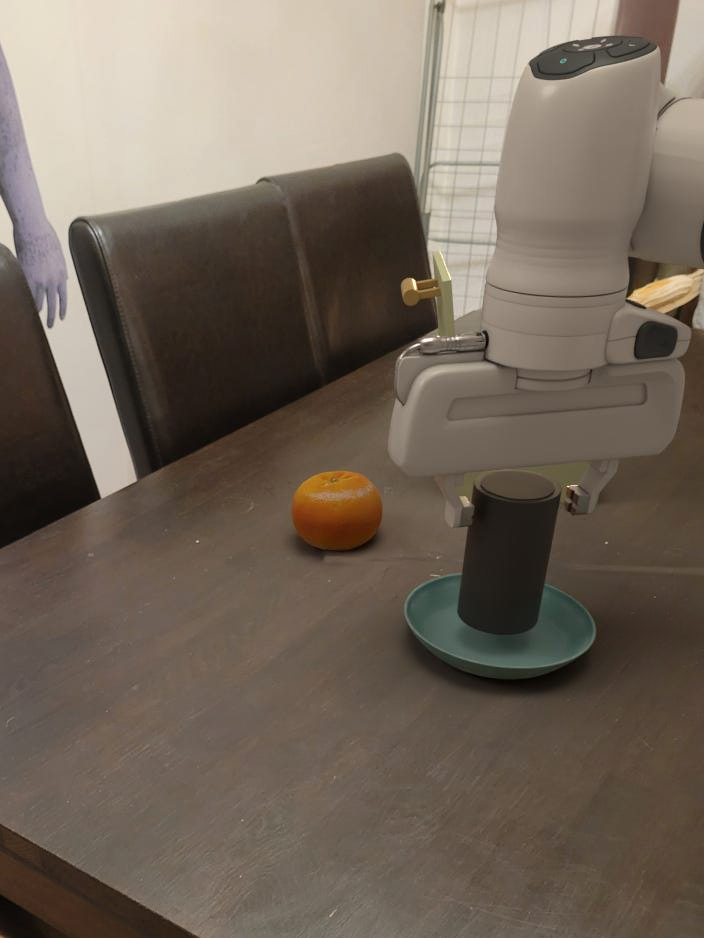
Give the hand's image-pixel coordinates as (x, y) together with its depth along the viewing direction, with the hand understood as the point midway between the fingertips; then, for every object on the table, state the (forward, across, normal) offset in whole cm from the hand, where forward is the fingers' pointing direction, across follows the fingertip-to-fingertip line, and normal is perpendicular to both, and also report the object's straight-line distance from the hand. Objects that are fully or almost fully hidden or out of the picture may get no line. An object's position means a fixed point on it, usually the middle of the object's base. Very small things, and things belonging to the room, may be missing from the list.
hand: (518, 518), depth 71 cm
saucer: (+11, 0, 0) cm, 11 cm away
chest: (+11, +15, +30) cm, 36 cm away
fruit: (+11, -8, +20) cm, 25 cm away
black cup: (+8, 0, 0) cm, 9 cm away
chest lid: (-4, +7, +33) cm, 34 cm away
